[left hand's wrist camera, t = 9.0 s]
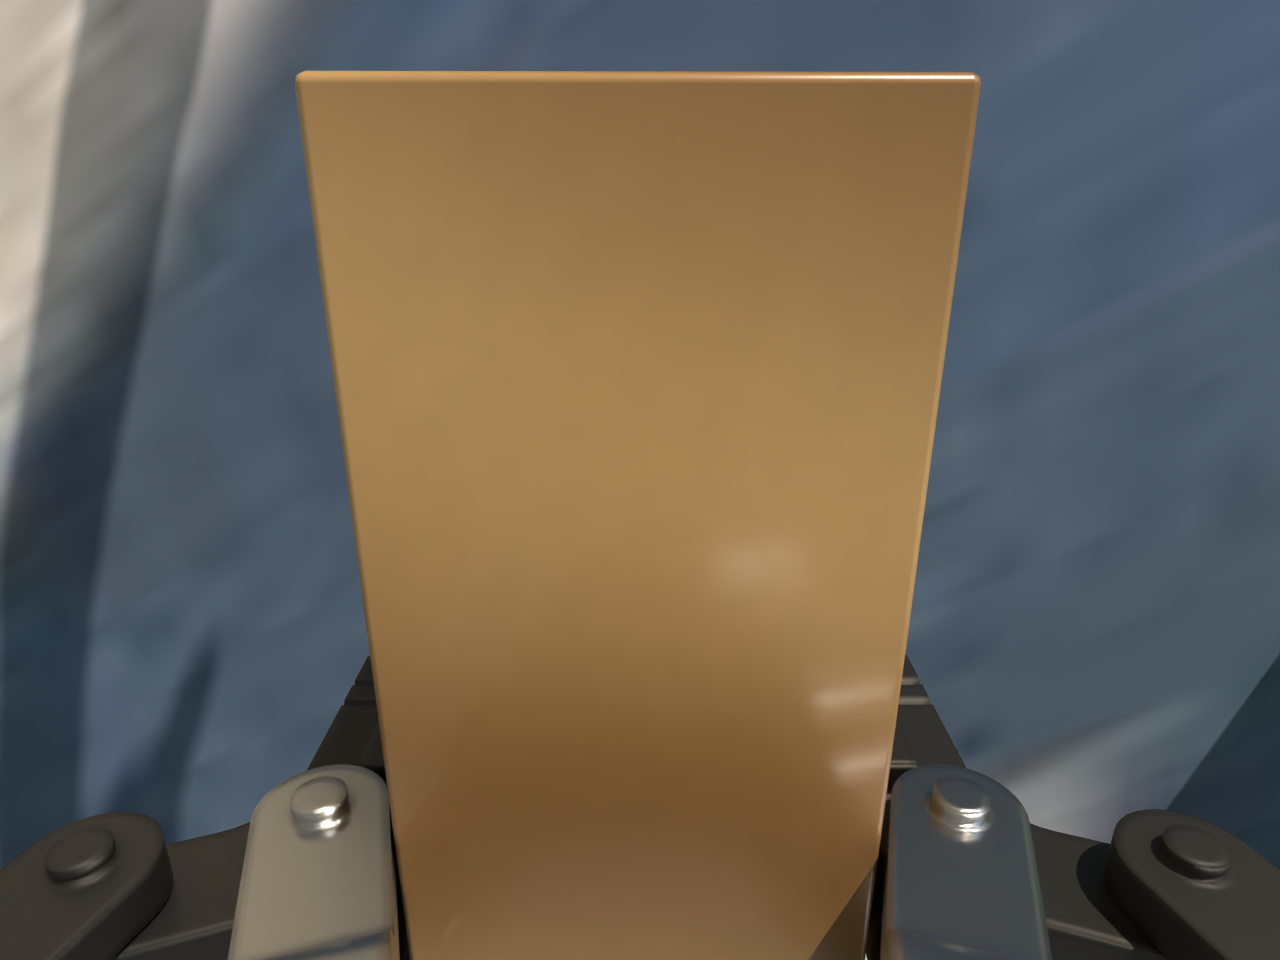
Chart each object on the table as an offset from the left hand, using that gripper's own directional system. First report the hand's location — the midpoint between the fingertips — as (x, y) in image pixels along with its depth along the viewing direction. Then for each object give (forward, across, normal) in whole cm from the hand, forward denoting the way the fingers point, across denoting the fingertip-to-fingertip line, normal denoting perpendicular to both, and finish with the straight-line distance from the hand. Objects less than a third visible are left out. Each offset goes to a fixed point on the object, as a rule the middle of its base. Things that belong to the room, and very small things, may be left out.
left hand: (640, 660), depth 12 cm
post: (+4, 0, -34) cm, 35 cm away
